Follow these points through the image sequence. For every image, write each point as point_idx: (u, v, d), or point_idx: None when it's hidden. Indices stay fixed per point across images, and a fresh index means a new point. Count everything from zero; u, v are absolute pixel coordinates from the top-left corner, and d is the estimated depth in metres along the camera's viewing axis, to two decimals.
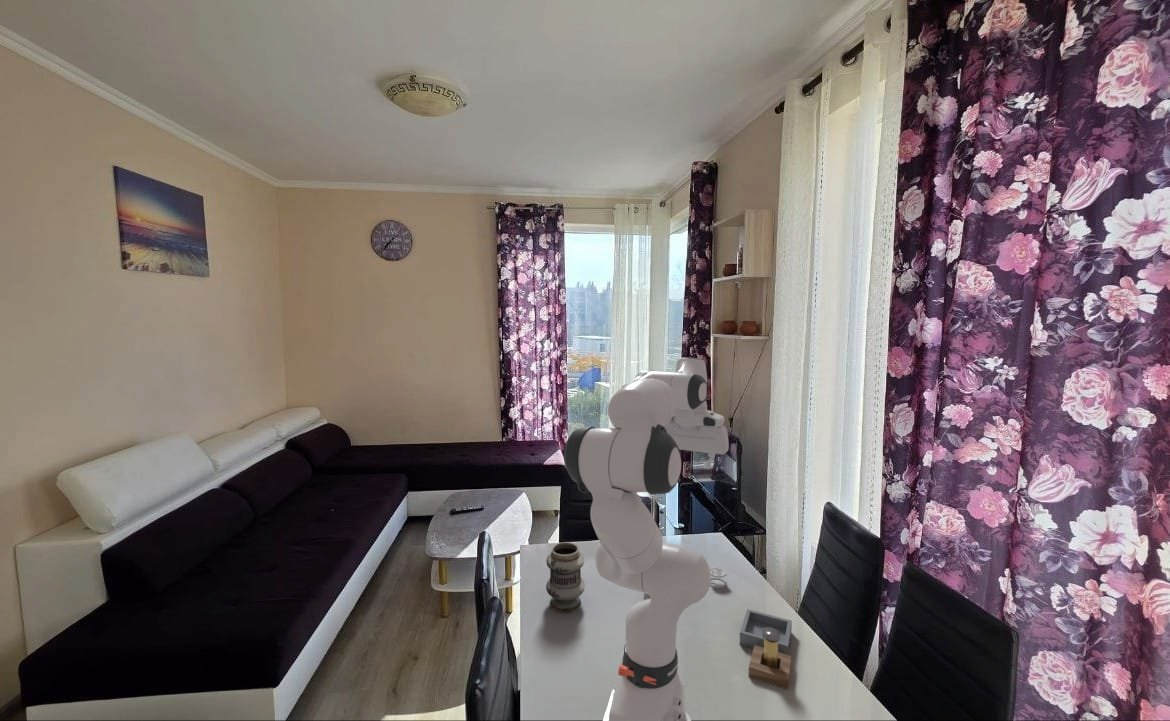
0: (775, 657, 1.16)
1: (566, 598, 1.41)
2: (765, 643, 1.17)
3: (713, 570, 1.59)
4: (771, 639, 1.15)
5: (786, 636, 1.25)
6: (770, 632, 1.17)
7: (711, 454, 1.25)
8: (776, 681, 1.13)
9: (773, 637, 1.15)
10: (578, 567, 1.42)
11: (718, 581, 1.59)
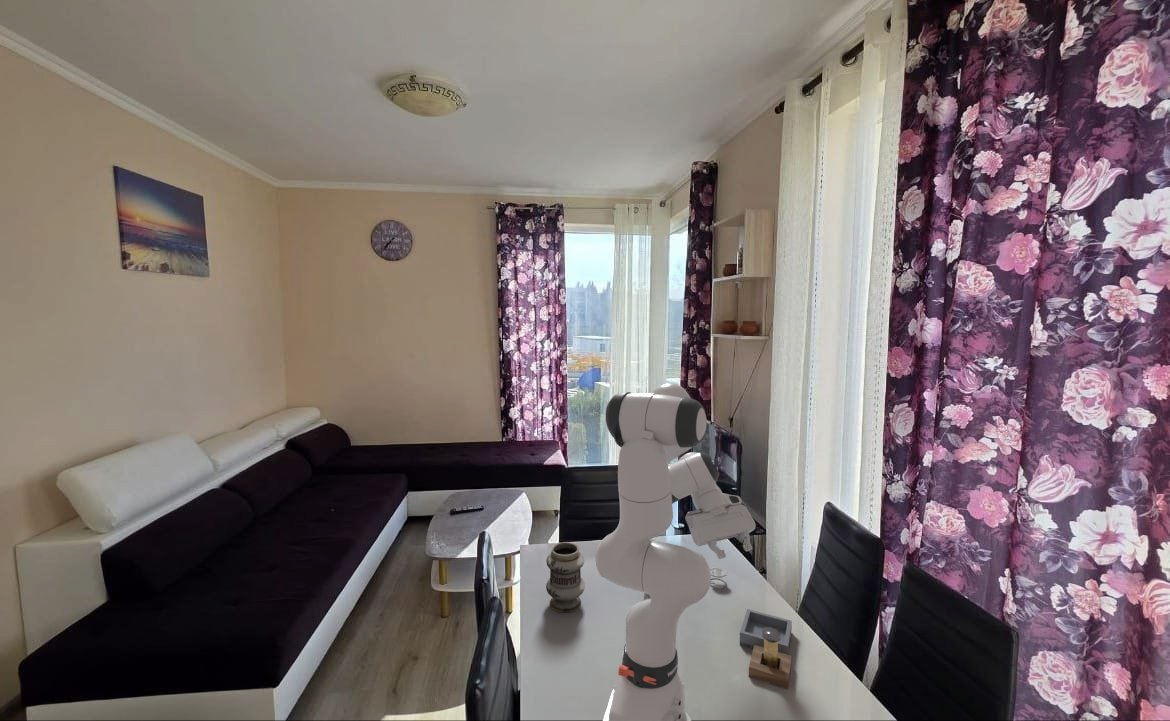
0: (775, 657, 1.16)
1: (566, 598, 1.41)
2: (765, 643, 1.17)
3: (713, 570, 1.59)
4: (771, 639, 1.15)
5: (786, 636, 1.25)
6: (770, 632, 1.17)
7: (747, 532, 1.31)
8: (776, 681, 1.13)
9: (773, 637, 1.15)
10: (578, 567, 1.42)
11: (718, 581, 1.59)
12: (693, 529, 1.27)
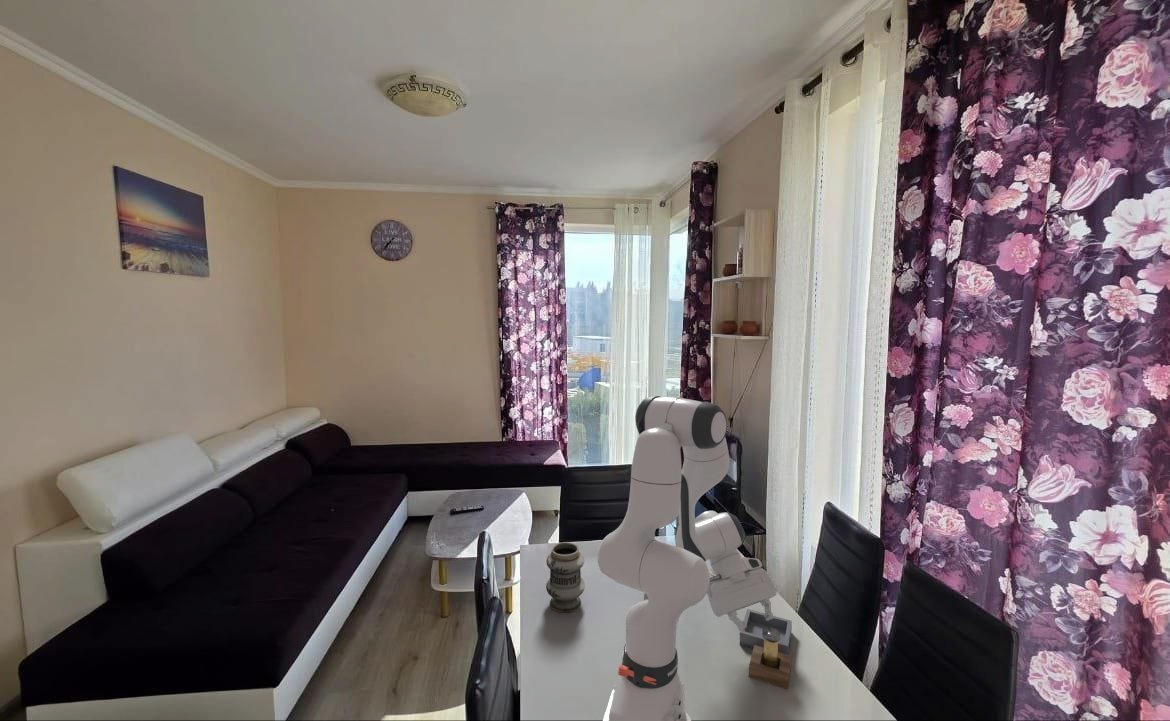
0: (775, 657, 1.16)
1: (566, 598, 1.41)
2: (765, 643, 1.17)
3: None
4: (771, 639, 1.15)
5: (786, 636, 1.25)
6: (770, 632, 1.17)
7: (767, 600, 1.26)
8: (776, 681, 1.13)
9: (773, 637, 1.15)
10: (578, 567, 1.42)
11: None
12: (713, 599, 1.21)
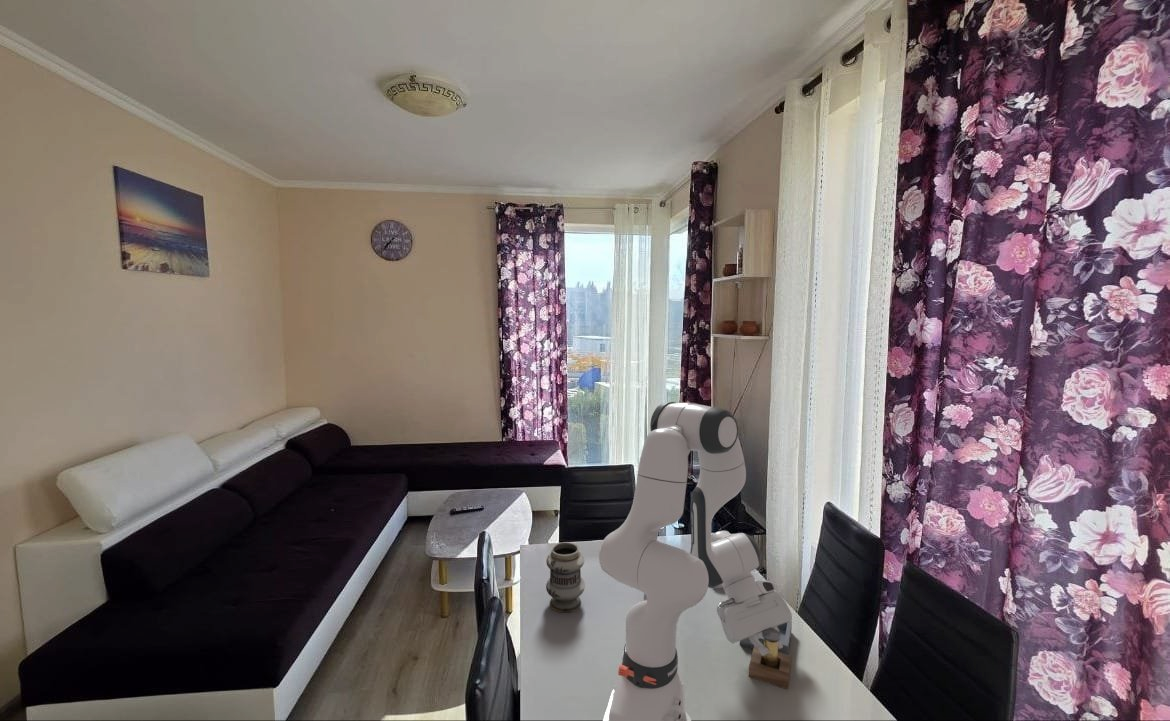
0: (775, 657, 1.16)
1: (566, 598, 1.41)
2: (765, 643, 1.17)
3: None
4: (771, 639, 1.15)
5: (786, 636, 1.25)
6: (770, 632, 1.17)
7: (776, 628, 1.20)
8: (776, 681, 1.13)
9: (773, 637, 1.15)
10: (578, 567, 1.42)
11: None
12: (726, 624, 1.17)
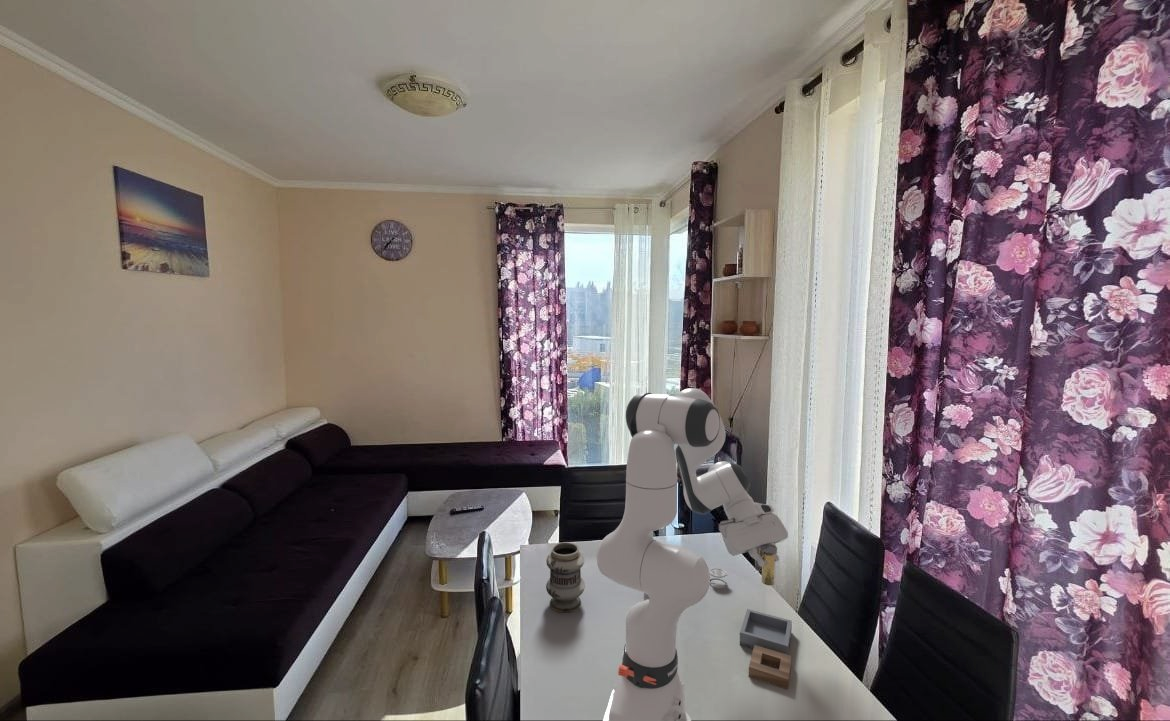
0: (772, 568, 1.27)
1: (566, 598, 1.41)
2: (763, 556, 1.28)
3: (713, 570, 1.59)
4: (768, 552, 1.26)
5: (786, 636, 1.25)
6: (768, 547, 1.28)
7: (773, 543, 1.31)
8: (776, 681, 1.13)
9: (770, 550, 1.26)
10: (578, 567, 1.42)
11: (719, 581, 1.59)
12: (727, 539, 1.28)
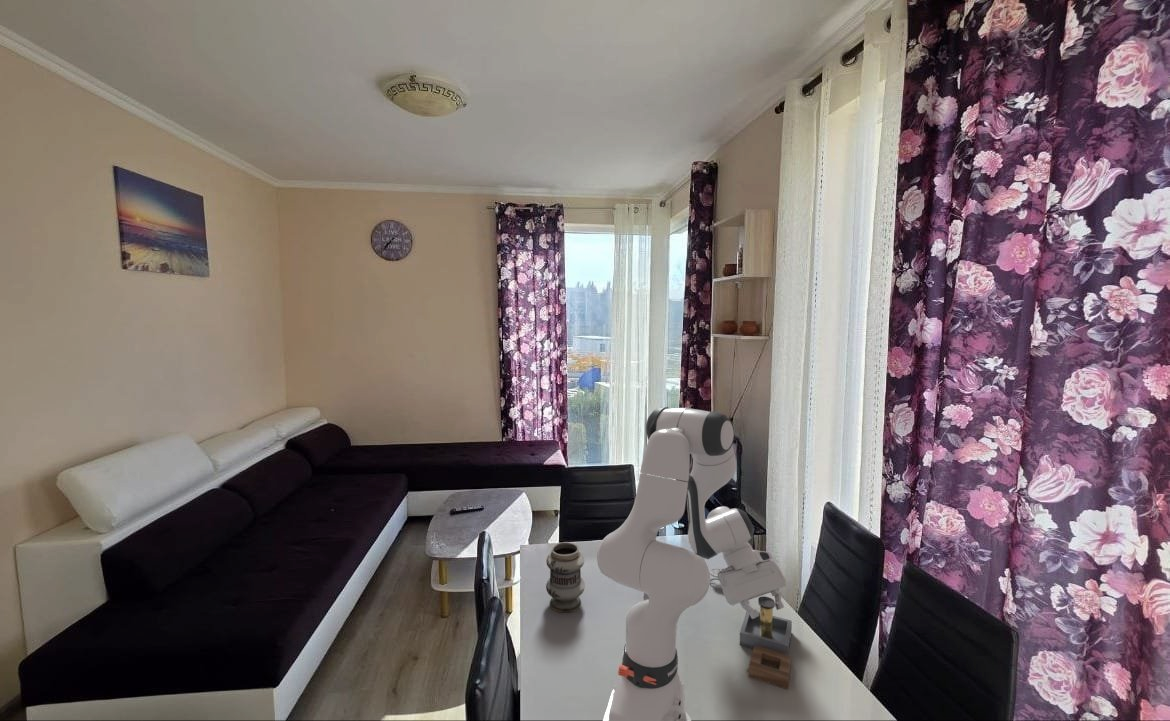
0: (770, 623, 1.28)
1: (566, 598, 1.41)
2: (761, 610, 1.29)
3: (714, 570, 1.59)
4: (766, 606, 1.27)
5: (786, 636, 1.25)
6: (765, 600, 1.29)
7: (778, 590, 1.33)
8: (776, 681, 1.13)
9: (768, 604, 1.27)
10: (578, 567, 1.42)
11: (719, 581, 1.59)
12: (726, 588, 1.29)
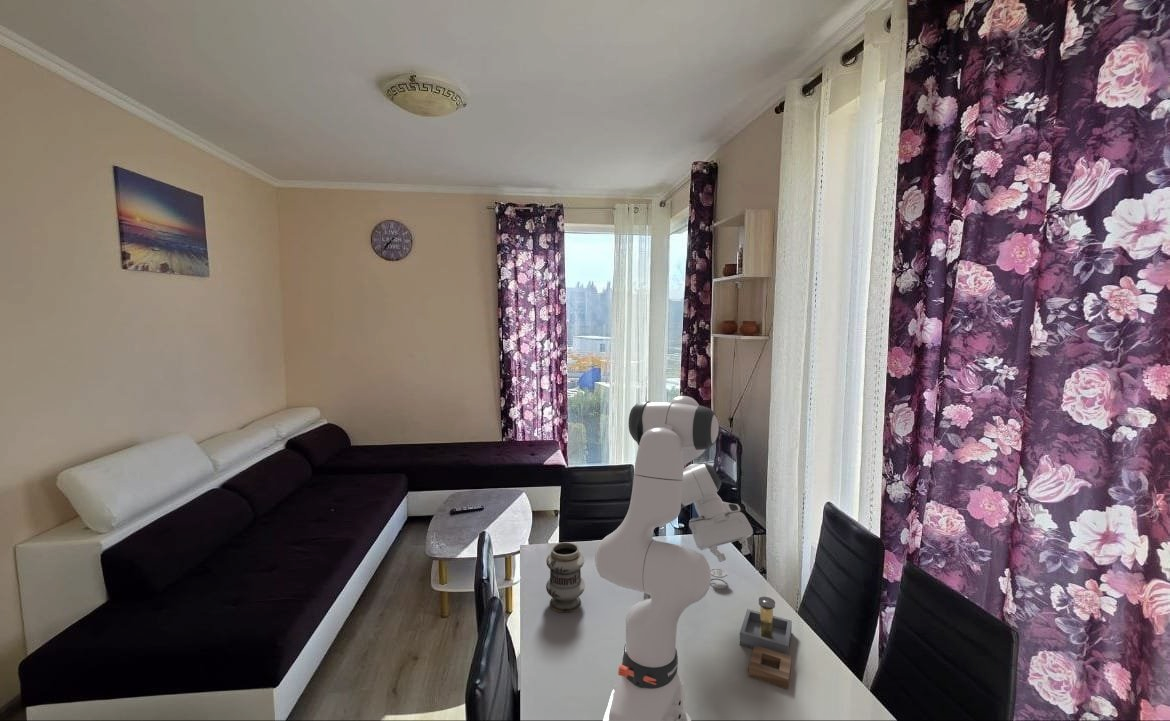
0: (770, 623, 1.28)
1: (566, 598, 1.41)
2: (761, 610, 1.29)
3: (714, 570, 1.59)
4: (767, 606, 1.27)
5: (786, 636, 1.25)
6: (766, 600, 1.29)
7: (745, 538, 1.44)
8: (776, 681, 1.13)
9: (768, 604, 1.27)
10: (578, 567, 1.42)
11: (719, 581, 1.59)
12: (696, 535, 1.40)
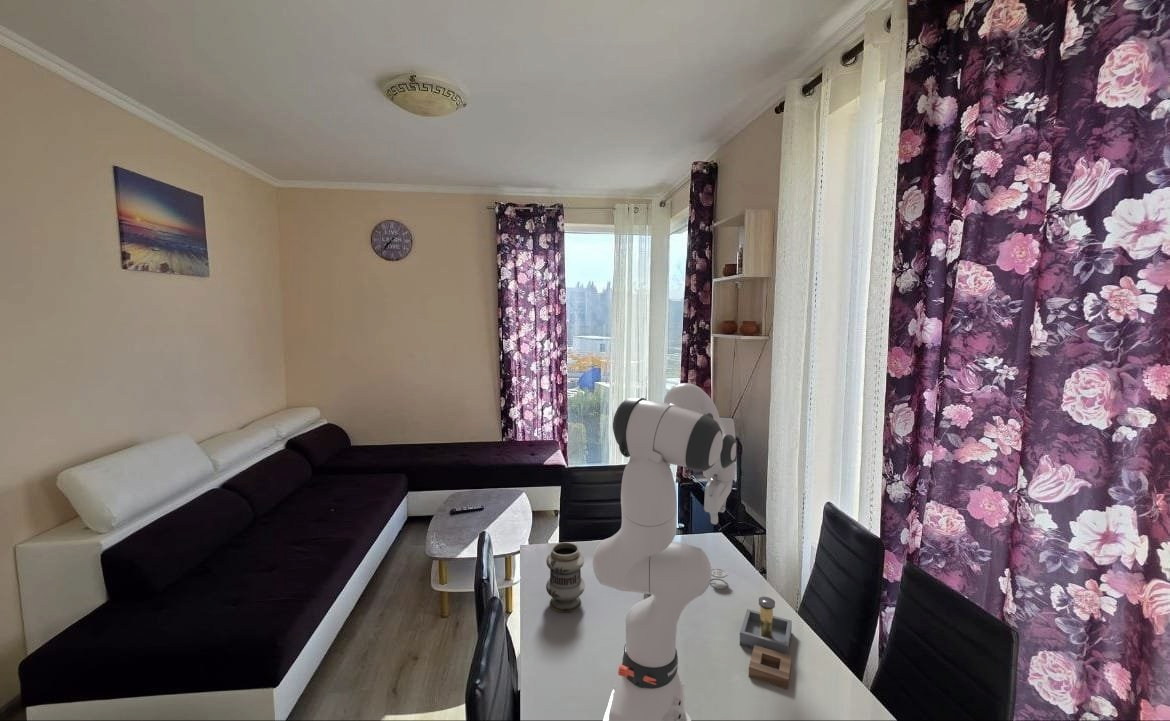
0: (770, 623, 1.28)
1: (566, 598, 1.41)
2: (761, 610, 1.29)
3: (714, 570, 1.59)
4: (766, 606, 1.27)
5: (786, 636, 1.25)
6: (766, 600, 1.29)
7: None
8: (776, 681, 1.13)
9: (768, 604, 1.27)
10: (578, 567, 1.42)
11: (719, 581, 1.59)
12: (712, 499, 1.26)
